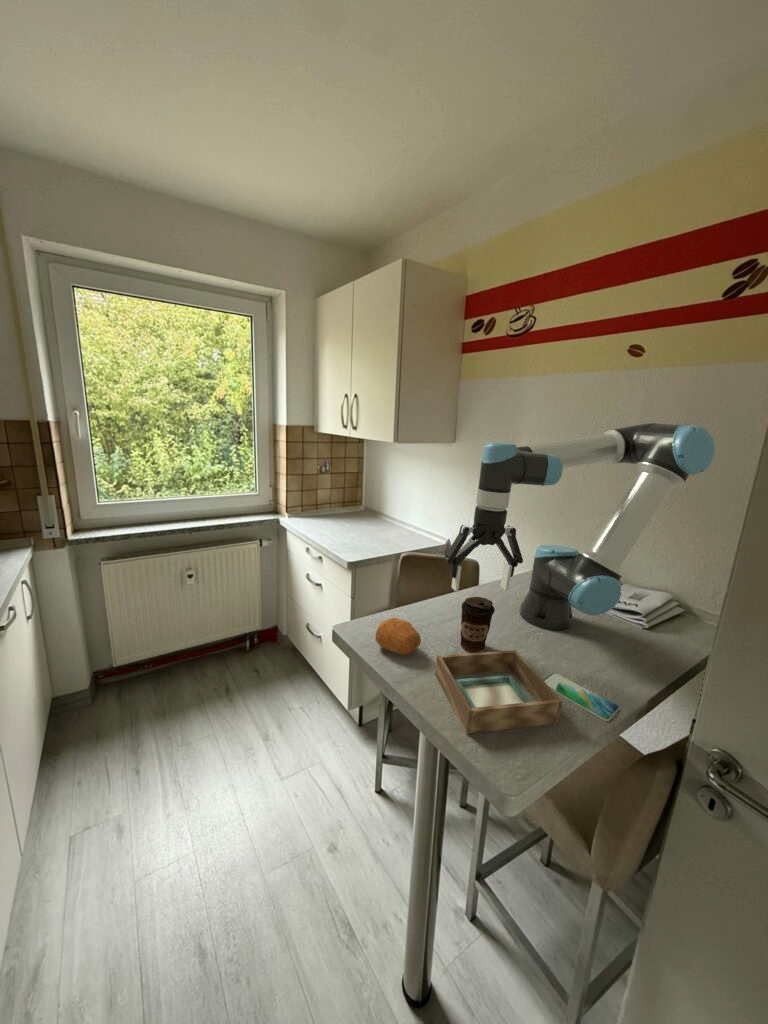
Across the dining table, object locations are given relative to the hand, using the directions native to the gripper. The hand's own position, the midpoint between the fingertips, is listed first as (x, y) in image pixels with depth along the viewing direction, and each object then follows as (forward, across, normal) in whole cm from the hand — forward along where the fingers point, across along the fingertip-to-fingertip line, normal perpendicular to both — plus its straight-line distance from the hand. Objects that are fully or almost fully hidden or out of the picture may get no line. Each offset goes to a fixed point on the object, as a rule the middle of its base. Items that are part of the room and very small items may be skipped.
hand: (479, 588), depth 103 cm
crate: (+17, +4, +19) cm, 25 cm away
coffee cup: (+17, 0, 0) cm, 17 cm away
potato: (+17, +20, -1) cm, 26 cm away
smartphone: (+17, -16, +21) cm, 32 cm away
